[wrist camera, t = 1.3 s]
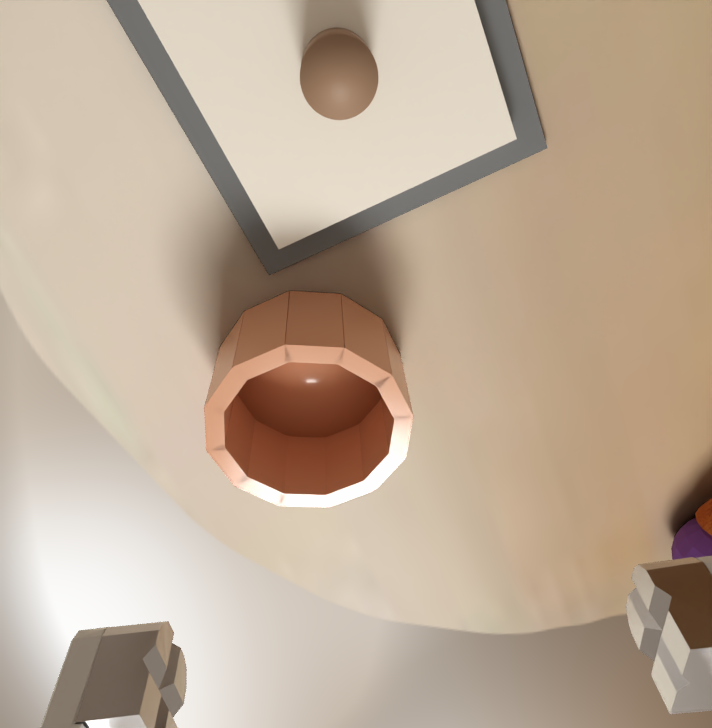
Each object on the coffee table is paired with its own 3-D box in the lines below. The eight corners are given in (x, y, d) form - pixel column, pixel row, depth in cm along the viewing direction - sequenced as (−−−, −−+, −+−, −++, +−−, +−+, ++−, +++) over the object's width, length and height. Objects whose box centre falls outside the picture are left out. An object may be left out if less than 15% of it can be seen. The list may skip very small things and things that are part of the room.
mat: (434, -244, 24) (436, -247, 24) (544, 146, 32) (547, 148, 32) (88, -37, 27) (85, -36, 26) (269, 272, 35) (269, 275, 35)
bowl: (353, 261, 35) (359, 312, 30) (424, 404, 40) (439, 466, 35) (185, 337, 37) (163, 396, 32) (274, 462, 43) (268, 529, 37)
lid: (414, -178, 25) (431, -204, 21) (510, 133, 31) (536, 156, 27) (136, -16, 27) (106, -13, 23) (279, 240, 34) (275, 275, 30)
